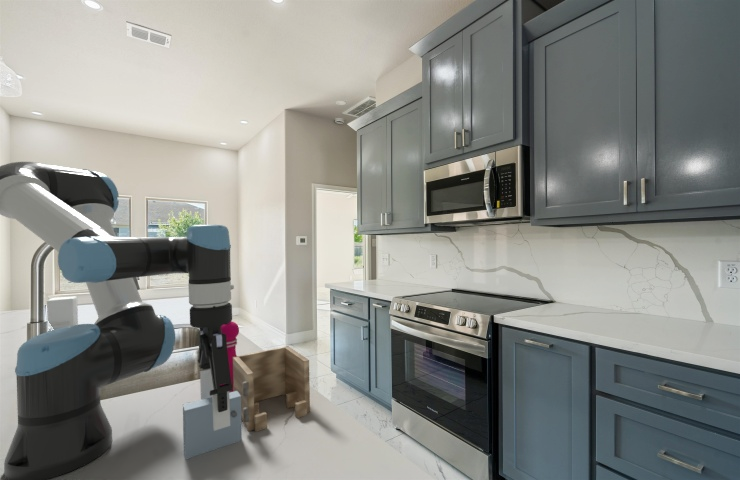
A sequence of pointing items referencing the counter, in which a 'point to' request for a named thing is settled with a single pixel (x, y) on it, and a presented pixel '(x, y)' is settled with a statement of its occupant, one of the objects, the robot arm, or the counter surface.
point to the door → (209, 426)
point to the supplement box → (62, 312)
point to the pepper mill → (231, 344)
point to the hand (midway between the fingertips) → (214, 412)
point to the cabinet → (271, 383)
